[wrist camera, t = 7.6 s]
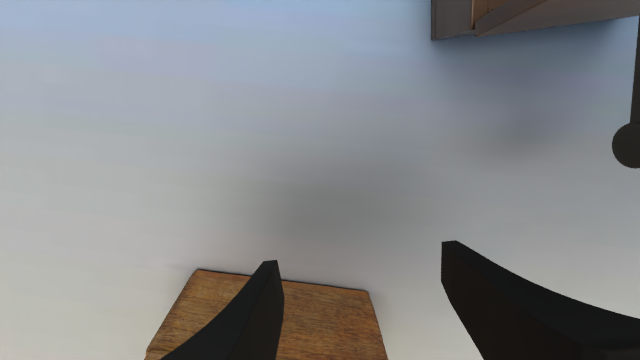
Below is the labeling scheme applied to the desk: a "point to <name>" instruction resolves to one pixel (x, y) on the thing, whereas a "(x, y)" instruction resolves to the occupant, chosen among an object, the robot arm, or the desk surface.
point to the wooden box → (298, 321)
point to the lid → (566, 9)
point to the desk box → (458, 16)
